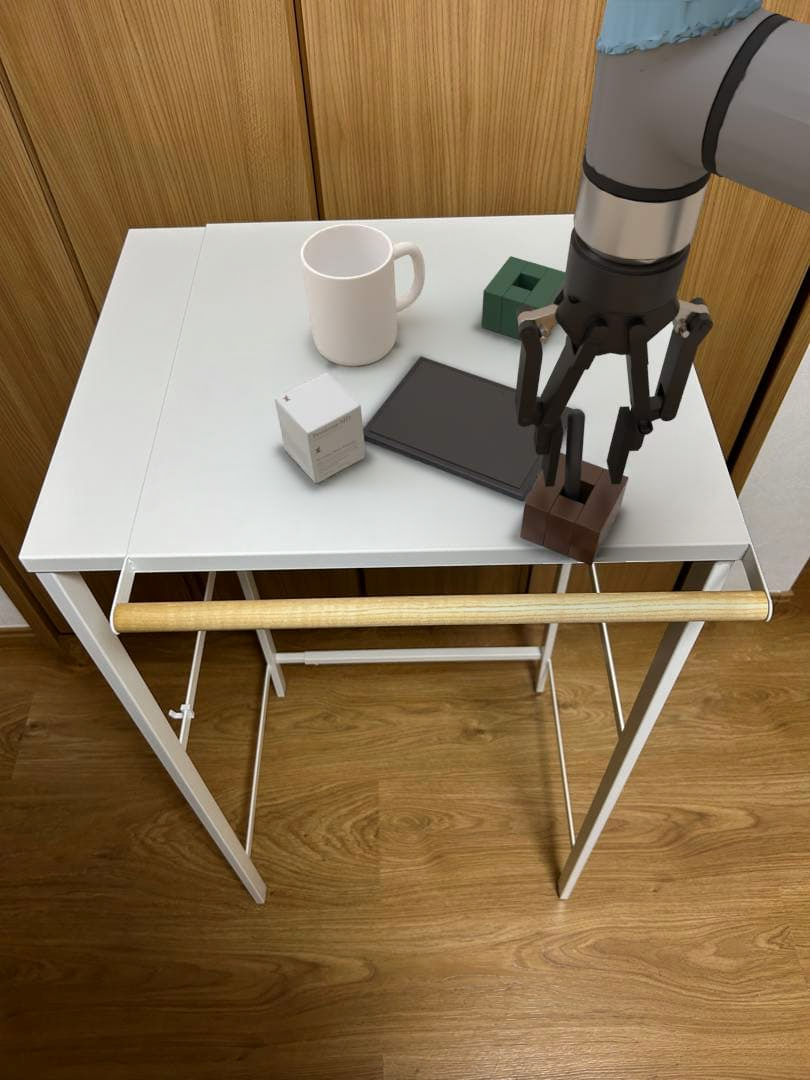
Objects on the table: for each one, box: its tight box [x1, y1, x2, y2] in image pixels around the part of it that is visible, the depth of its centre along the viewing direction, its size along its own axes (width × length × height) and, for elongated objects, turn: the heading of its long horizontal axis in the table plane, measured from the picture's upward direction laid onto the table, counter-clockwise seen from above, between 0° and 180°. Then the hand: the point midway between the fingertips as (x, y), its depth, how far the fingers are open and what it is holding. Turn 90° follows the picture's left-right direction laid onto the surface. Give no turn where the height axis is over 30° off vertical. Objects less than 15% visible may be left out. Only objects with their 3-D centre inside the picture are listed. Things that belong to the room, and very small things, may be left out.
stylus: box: [564, 408, 586, 502], centre depth 72 cm, size 1×1×14 cm
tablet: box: [363, 355, 574, 502], centre depth 85 cm, size 18×13×1 cm
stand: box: [481, 256, 566, 341], centre depth 93 cm, size 7×7×5 cm
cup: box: [300, 223, 426, 367], centre depth 89 cm, size 9×14×12 cm
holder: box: [519, 451, 630, 567], centre depth 75 cm, size 7×7×5 cm
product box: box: [274, 371, 366, 484], centre depth 80 cm, size 6×6×7 cm
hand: (580, 473), depth 71 cm, fingers open, 5 cm apart
